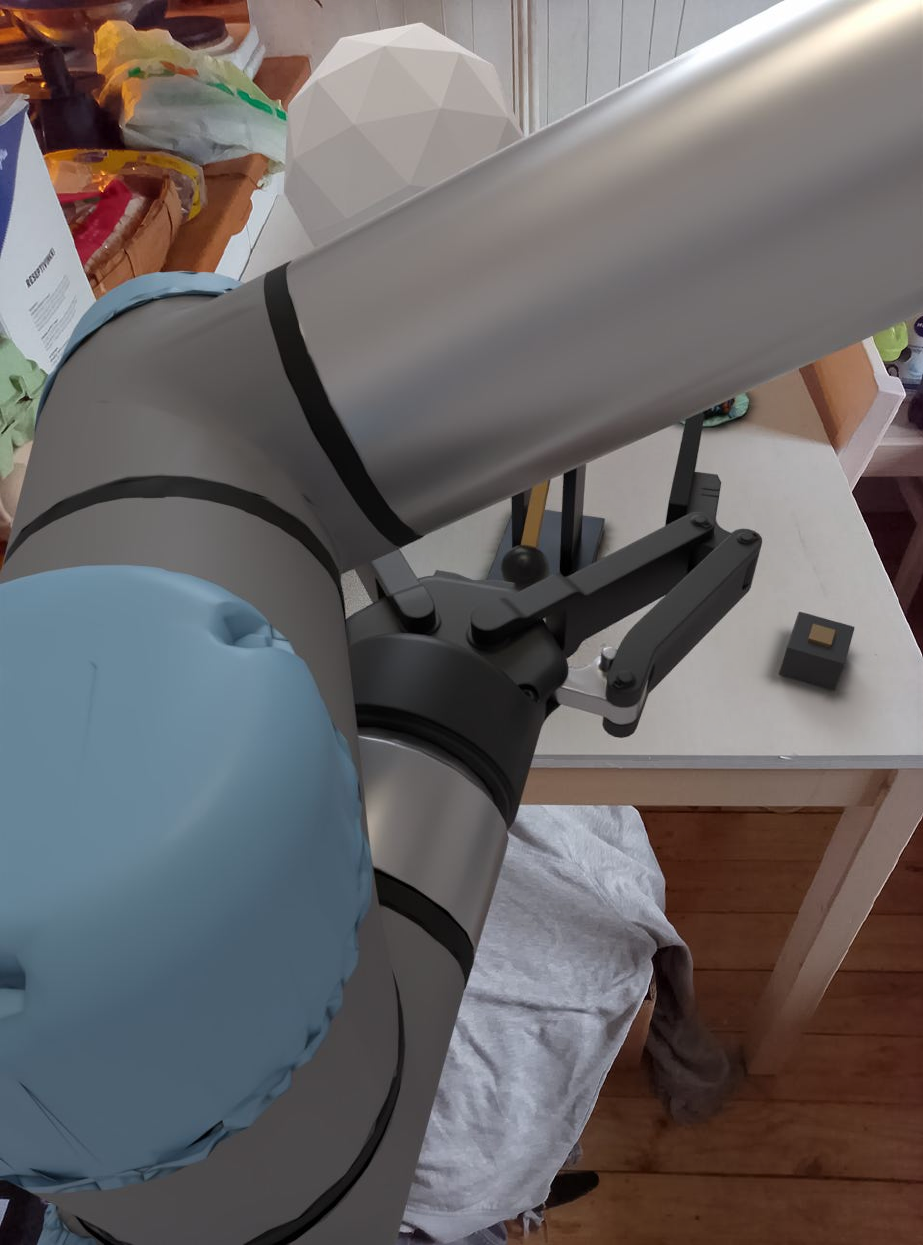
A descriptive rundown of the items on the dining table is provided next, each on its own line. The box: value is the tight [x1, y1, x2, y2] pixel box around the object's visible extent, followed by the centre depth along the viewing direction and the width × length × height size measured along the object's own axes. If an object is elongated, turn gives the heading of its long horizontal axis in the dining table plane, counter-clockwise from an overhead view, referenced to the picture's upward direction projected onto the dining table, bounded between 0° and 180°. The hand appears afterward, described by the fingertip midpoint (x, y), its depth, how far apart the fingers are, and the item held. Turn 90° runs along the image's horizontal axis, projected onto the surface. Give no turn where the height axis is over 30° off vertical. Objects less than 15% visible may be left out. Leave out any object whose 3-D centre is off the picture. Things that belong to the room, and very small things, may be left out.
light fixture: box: [283, 21, 525, 248], centre depth 106 cm, size 27×40×28 cm
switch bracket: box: [486, 463, 606, 581], centre depth 73 cm, size 10×8×14 cm
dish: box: [680, 393, 750, 427], centre depth 92 cm, size 8×7×8 cm
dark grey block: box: [778, 611, 855, 692], centre depth 67 cm, size 4×4×3 cm
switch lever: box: [500, 479, 552, 591], centre depth 68 cm, size 13×4×4 cm
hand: (544, 420), depth 43 cm, fingers open, 13 cm apart
